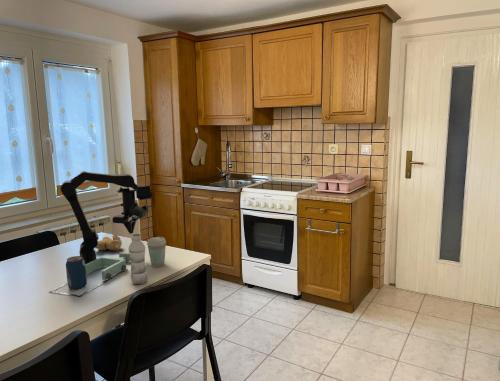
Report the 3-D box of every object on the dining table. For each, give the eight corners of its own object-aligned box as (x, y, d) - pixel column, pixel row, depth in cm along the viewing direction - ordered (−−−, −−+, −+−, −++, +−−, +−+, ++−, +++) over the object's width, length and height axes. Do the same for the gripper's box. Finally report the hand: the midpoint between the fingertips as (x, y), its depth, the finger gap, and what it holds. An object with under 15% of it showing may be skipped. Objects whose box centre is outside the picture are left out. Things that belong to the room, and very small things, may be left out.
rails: (48, 292, 151) (48, 291, 151) (100, 265, 178) (100, 265, 178) (79, 297, 146) (79, 296, 146) (127, 269, 173) (127, 269, 173)
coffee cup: (162, 268, 173) (161, 242, 171) (144, 267, 175) (143, 241, 173) (170, 262, 182) (169, 237, 180) (153, 261, 183) (151, 236, 181)
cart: (77, 276, 165) (76, 267, 164) (113, 258, 186) (112, 250, 185) (106, 280, 160) (105, 271, 159) (139, 261, 181) (139, 253, 181)
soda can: (90, 284, 158) (87, 255, 156) (81, 291, 151) (78, 261, 149) (74, 283, 159) (71, 255, 157) (64, 290, 152) (61, 261, 150)
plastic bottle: (139, 287, 154) (135, 238, 151) (127, 284, 158) (123, 236, 154) (151, 281, 159) (148, 234, 156) (139, 278, 163) (136, 232, 159)
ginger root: (112, 253, 191) (108, 237, 190) (88, 257, 197) (84, 242, 196) (133, 245, 205) (129, 230, 205) (109, 249, 211) (106, 234, 211)
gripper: (131, 206, 172) (133, 240, 175) (154, 198, 190) (156, 229, 193) (110, 204, 176) (113, 238, 179) (135, 197, 193) (137, 227, 196)
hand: (131, 233), depth 187 cm, fingers closed
